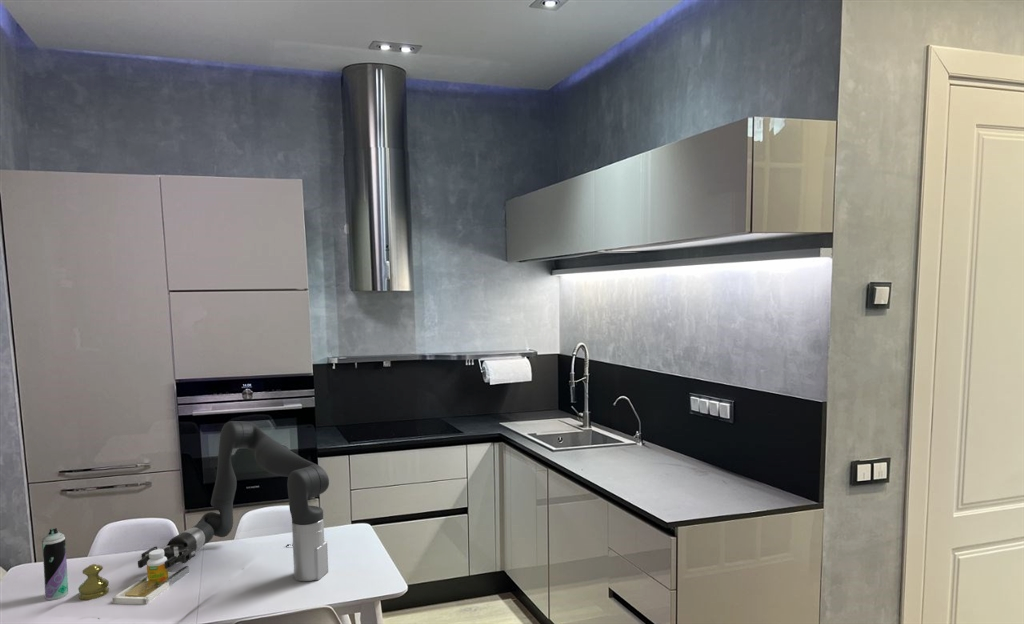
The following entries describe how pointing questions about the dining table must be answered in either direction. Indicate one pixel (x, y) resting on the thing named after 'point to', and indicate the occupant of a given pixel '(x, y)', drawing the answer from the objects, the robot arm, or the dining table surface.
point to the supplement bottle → (157, 567)
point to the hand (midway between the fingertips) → (152, 565)
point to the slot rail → (171, 576)
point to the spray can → (55, 565)
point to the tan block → (137, 592)
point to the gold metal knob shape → (93, 584)
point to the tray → (138, 600)
